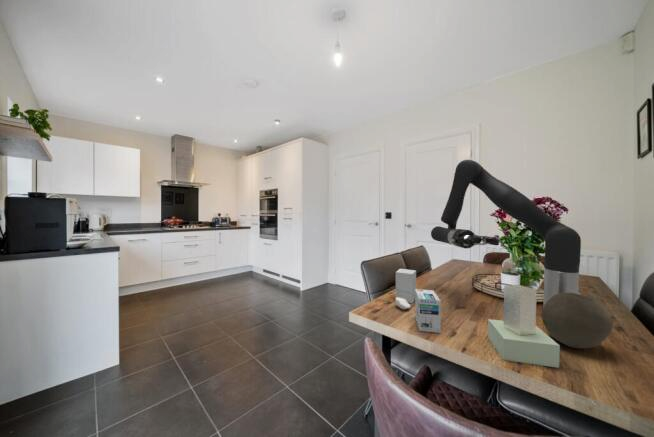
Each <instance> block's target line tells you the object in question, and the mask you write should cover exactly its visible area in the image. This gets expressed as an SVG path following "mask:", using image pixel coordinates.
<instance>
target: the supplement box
mask: <svg viewBox="0 0 654 437" xmlns="http://www.w3.org/2000/svg"><path fill="white" fill-rule="evenodd" d="M415 289H417V270H414V269H407V268H399V269H397V271H395V299H396V298H403V299H405V300H406V301H407V302H408V304H413V303H415Z"/></svg>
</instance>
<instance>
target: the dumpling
mask: <svg viewBox="0 0 654 437" xmlns="http://www.w3.org/2000/svg"><path fill="white" fill-rule="evenodd" d="M394 300H395V303H396V305H397V306H398V307H399V308H400V309H401V310H407V309H410V308H411V306H412V305H411V303H408V302H407V301H406V300H405V299H403V298H396V297H395V299H394Z"/></svg>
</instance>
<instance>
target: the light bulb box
mask: <svg viewBox="0 0 654 437" xmlns="http://www.w3.org/2000/svg"><path fill="white" fill-rule="evenodd" d="M414 303H415V304H414V305H415V306H414V308H415V310H414V319H415V322H416V325H417V328H418V330H419V332H426V333H427V332H428V333H439V334H441V333H442V332H441V328H442V327H441V324H442V322H441V320H442V319H441V318H442V316H441V315H442V312H441V311H442V300H441V298H440V297H439V296H438V295H437V294H436V292H435V290H434V289H433V290H432V289H421V288H420V289H419V288H416V289H415V300H414Z"/></svg>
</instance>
